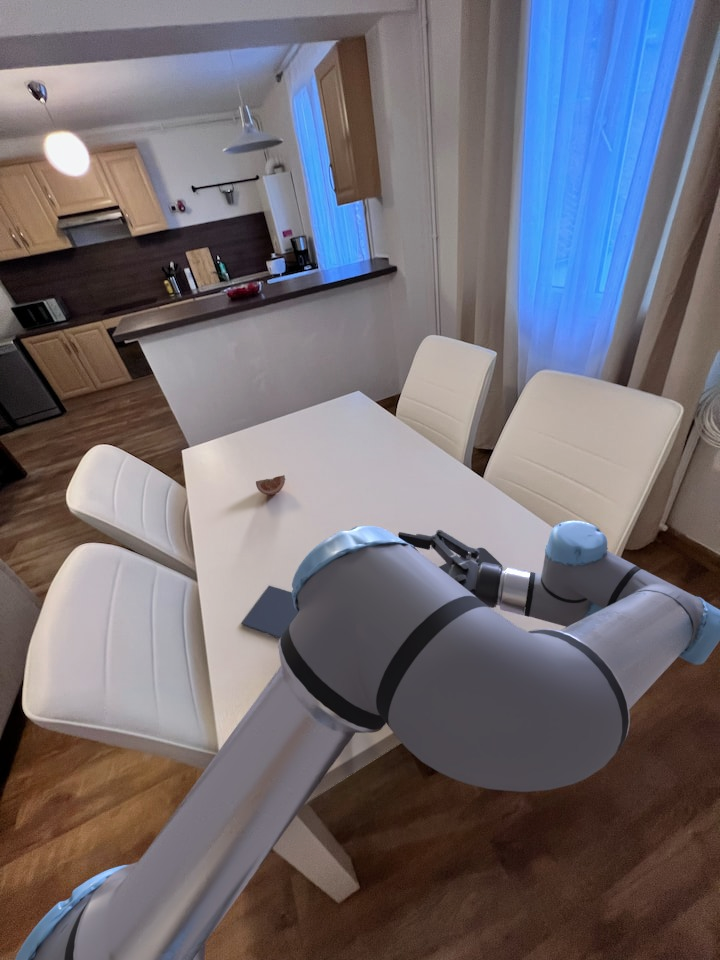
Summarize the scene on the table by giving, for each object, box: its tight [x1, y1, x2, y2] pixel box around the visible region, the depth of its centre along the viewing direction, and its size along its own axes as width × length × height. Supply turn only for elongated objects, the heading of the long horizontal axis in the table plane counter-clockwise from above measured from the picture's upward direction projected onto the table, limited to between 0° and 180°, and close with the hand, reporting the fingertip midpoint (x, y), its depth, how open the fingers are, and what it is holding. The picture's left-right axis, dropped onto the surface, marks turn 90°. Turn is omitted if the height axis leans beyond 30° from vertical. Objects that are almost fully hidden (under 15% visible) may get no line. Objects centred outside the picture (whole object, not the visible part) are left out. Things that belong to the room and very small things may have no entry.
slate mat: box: [240, 585, 298, 639], centre depth 83 cm, size 10×10×1 cm
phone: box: [438, 547, 503, 574], centre depth 84 cm, size 7×1×15 cm
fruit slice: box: [255, 474, 287, 496], centre depth 116 cm, size 8×7×5 cm
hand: (387, 561), depth 79 cm, fingers open, 13 cm apart
